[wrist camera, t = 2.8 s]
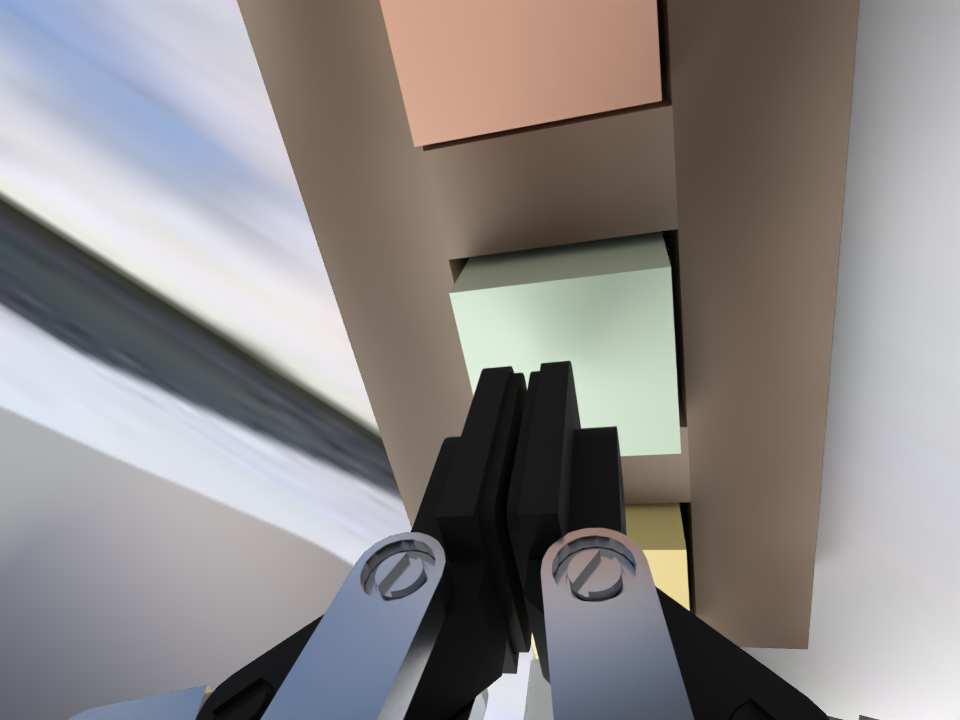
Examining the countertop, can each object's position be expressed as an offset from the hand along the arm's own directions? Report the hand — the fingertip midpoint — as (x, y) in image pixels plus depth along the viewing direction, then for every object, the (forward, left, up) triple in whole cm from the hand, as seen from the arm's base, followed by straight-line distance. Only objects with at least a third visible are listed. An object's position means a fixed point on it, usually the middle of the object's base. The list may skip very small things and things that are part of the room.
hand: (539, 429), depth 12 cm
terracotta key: (0, -8, -6) cm, 9 cm away
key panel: (0, 0, -7) cm, 7 cm away
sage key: (0, 0, -6) cm, 6 cm away
